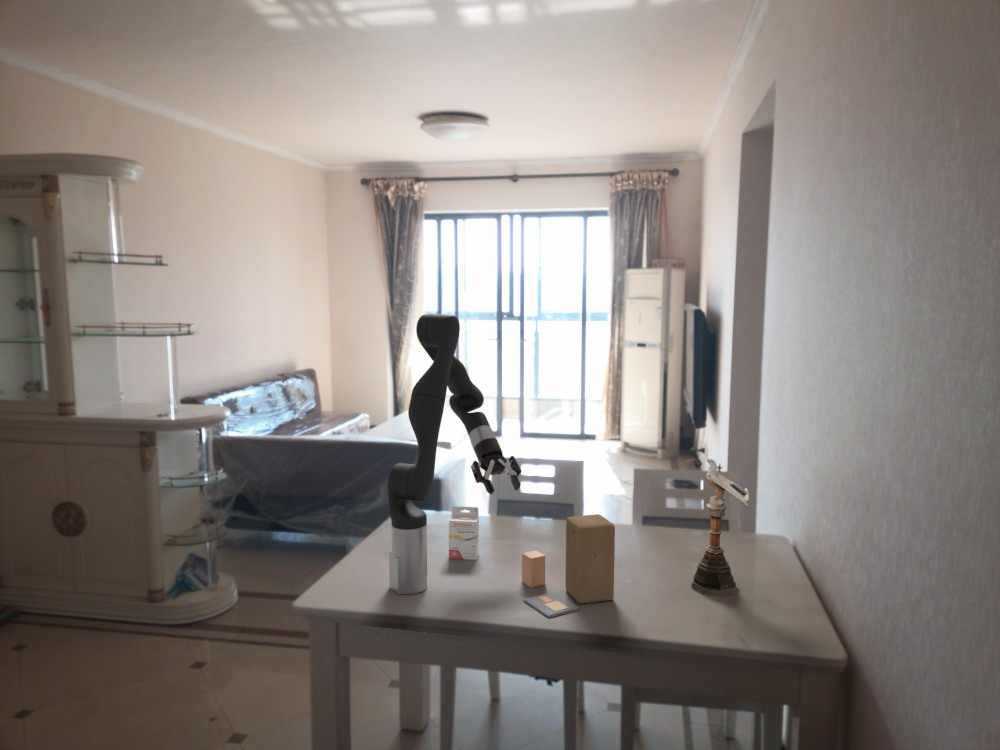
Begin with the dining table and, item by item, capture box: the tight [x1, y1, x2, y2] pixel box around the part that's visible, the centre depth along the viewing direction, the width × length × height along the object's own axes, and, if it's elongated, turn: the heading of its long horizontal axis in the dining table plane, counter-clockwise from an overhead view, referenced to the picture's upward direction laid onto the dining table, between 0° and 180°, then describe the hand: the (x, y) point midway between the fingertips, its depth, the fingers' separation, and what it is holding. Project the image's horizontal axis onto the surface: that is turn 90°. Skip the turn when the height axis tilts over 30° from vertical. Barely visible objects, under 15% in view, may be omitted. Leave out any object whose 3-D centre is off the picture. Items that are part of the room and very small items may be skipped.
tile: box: [523, 591, 580, 619], centre depth 174 cm, size 9×11×1 cm
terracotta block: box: [521, 550, 546, 589], centre depth 188 cm, size 4×4×8 cm
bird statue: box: [690, 458, 750, 597], centre depth 184 cm, size 17×13×35 cm
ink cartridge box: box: [448, 505, 480, 561], centre depth 207 cm, size 9×5×15 cm, turn 84°
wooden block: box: [565, 514, 616, 604], centre depth 179 cm, size 10×10×20 cm
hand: (505, 490), depth 199 cm, fingers open, 8 cm apart
